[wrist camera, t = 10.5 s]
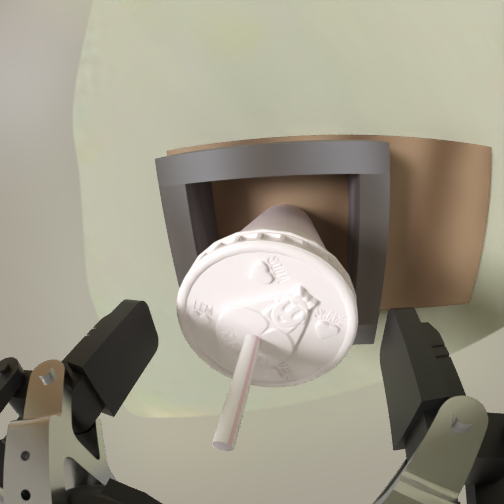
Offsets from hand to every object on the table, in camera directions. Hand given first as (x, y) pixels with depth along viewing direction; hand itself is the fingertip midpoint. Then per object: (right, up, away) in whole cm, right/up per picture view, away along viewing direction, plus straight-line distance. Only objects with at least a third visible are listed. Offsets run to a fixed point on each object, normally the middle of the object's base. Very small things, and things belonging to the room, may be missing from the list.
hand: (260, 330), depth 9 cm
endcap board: (+6, +4, +9) cm, 12 cm away
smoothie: (+2, +4, +9) cm, 10 cm away
